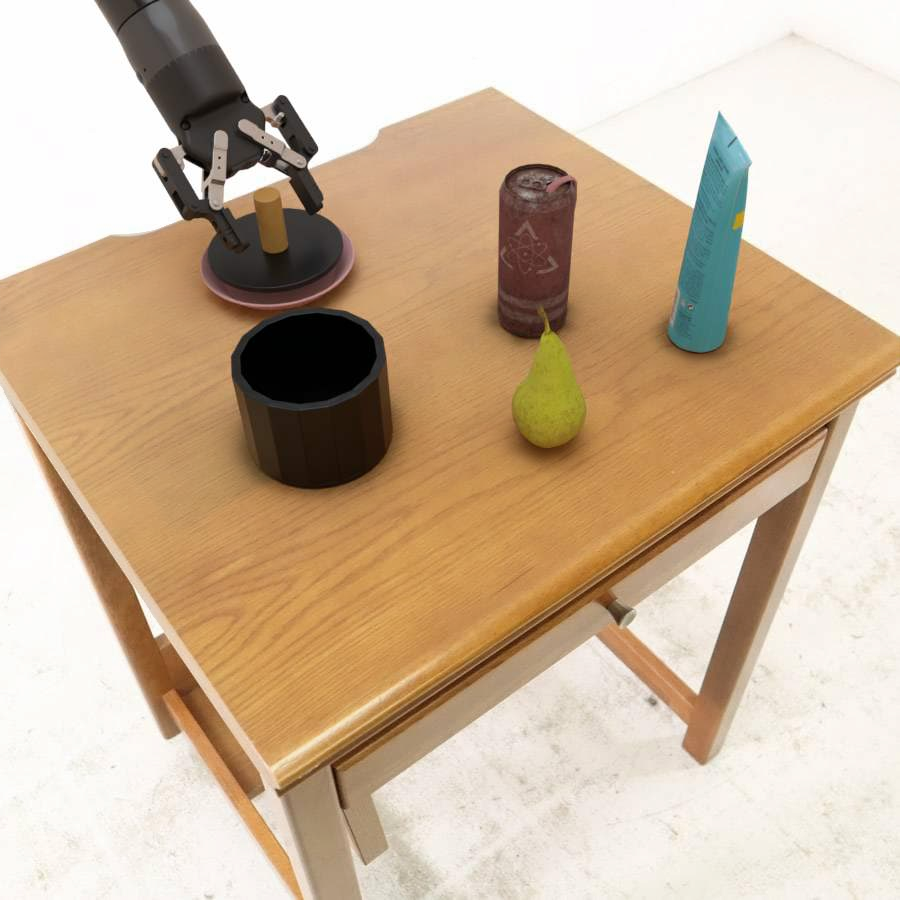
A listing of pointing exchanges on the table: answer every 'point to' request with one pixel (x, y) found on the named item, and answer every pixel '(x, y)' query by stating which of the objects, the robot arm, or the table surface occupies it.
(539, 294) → the can
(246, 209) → the table surface
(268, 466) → the tin
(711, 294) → the tube
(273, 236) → the lid
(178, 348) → the table surface
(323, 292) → the plate
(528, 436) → the fruit
